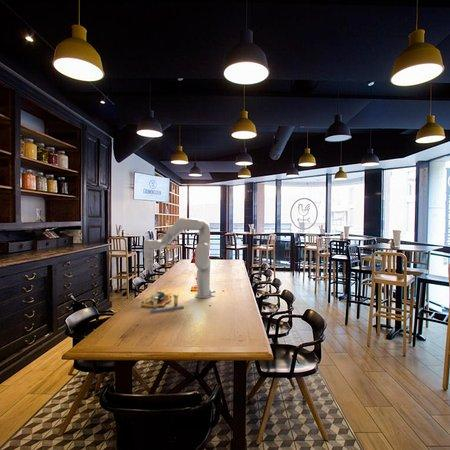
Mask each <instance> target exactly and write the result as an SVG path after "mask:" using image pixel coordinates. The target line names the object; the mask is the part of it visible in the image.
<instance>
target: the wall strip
mask: <svg viewBox="0 0 450 450" xmlns="http://www.w3.org/2000/svg"><path fill="white" fill-rule="evenodd" d="M184 307H185V306H183V304H181V305H178V306H174V305H173V306H167V307H166V306H165V307H164V308H157V309H153V308H151V309H149V313H150V314H155V313H163V312H170V310H171V311H176V310H184V309H185V308H184Z"/></svg>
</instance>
